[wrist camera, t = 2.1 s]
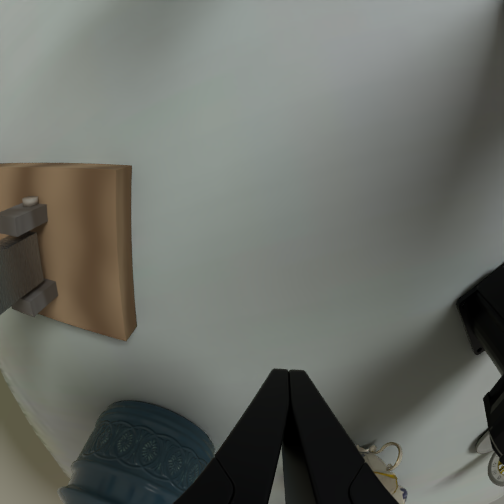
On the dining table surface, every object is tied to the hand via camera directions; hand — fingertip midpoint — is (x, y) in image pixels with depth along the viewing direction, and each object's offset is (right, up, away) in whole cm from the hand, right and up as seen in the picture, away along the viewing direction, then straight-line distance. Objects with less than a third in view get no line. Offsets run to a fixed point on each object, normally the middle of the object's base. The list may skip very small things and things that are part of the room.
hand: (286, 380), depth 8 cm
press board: (-16, +4, +13) cm, 21 cm away
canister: (-11, -16, +21) cm, 29 cm away
